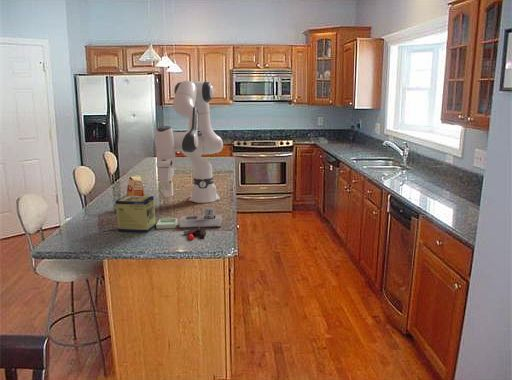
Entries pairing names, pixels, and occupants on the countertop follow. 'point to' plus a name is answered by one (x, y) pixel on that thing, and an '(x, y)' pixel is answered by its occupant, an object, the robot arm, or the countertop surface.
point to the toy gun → (195, 233)
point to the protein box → (135, 213)
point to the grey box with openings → (201, 220)
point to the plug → (170, 191)
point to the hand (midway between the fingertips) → (168, 188)
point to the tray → (167, 223)
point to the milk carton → (135, 186)
